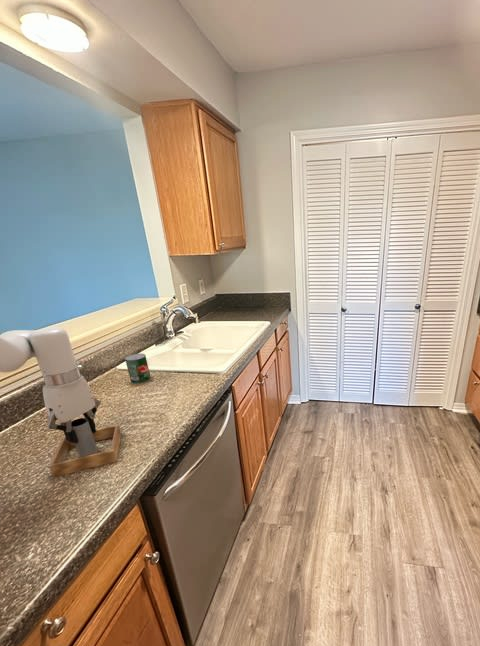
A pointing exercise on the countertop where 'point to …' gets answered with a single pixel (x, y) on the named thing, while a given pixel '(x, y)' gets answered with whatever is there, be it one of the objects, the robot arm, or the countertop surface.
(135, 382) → the canned tomato
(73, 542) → the countertop surface
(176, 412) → the countertop surface
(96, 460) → the wooden square frame
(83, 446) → the planter
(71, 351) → the robot arm
